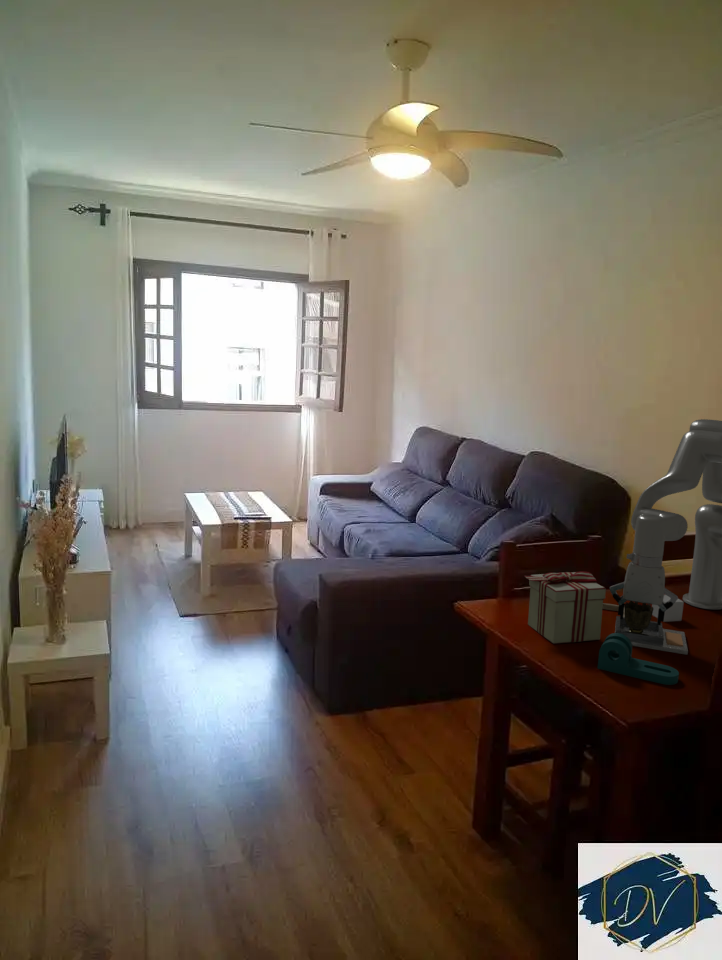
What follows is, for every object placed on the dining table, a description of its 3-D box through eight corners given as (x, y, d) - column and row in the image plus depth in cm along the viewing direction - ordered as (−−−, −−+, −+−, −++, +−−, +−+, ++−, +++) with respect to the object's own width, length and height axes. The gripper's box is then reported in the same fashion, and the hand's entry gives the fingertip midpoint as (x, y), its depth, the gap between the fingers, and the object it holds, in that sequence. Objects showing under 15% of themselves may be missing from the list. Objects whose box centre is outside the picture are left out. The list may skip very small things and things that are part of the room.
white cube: (668, 613, 217) (671, 594, 216) (681, 621, 211) (683, 601, 210) (650, 614, 215) (653, 595, 214) (663, 622, 210) (665, 602, 208)
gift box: (563, 616, 211) (568, 559, 208) (604, 640, 194) (611, 579, 191) (513, 621, 205) (518, 563, 202) (551, 647, 188) (557, 584, 185)
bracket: (597, 669, 177) (600, 639, 175) (602, 659, 182) (605, 630, 181) (676, 688, 168) (680, 656, 167) (679, 677, 174) (683, 646, 173)
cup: (619, 634, 196) (622, 606, 194) (623, 626, 202) (626, 599, 201) (648, 640, 192) (651, 612, 191) (651, 631, 199) (655, 604, 197)
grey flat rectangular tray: (615, 624, 206) (616, 614, 205) (683, 635, 200) (685, 625, 199) (614, 642, 193) (615, 632, 192) (687, 654, 187) (688, 643, 186)
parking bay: (585, 605, 221) (585, 600, 220) (626, 611, 217) (627, 606, 216) (583, 618, 210) (583, 613, 209) (626, 625, 206) (627, 620, 205)
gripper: (612, 559, 193) (606, 620, 196) (682, 568, 187) (675, 630, 190) (613, 552, 200) (607, 611, 203) (680, 561, 194) (673, 621, 197)
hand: (640, 620), depth 196 cm, fingers open, 9 cm apart
